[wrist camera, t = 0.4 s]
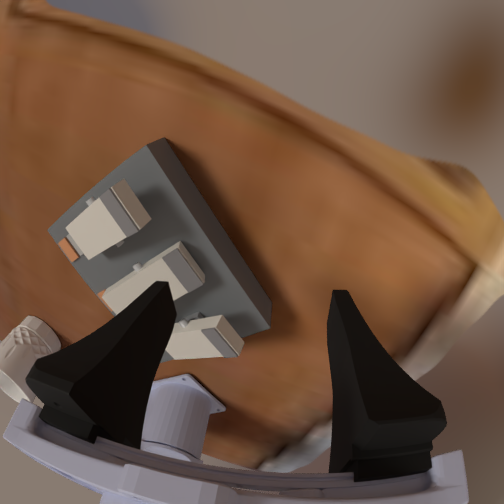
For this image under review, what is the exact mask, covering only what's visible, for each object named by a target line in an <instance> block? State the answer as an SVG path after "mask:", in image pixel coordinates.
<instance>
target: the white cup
mask: <svg viewBox="0 0 504 504" xmlns="http://www.w3.org/2000/svg"><path fill="white" fill-rule="evenodd" d="M60 349H61V343H60V341H59V338H58V337H57V335H56V334H55V333H54V331H53V330H52V329H51V328H50V327H49V326H48V325H47V324H46V323H45V322H44V321H42V320H41V319H39V318H37V317H35V316H27V317H26V318H25V319H24V320H23V321H22V322H21V323H20V324H19V325H18V326H17V327H16V328H14V329H13V330H12V332H11V333H10V334H8V336H7V337H6V338H5V339H4V340H3V341H2V342H1V343H0V389H1V390H3V391H4V392H5V393H6V394H7V395H8V396H10V397H11V398H12V399H14V400H15V401H17V402H18V403H20V401H21V399H22V398H24V399H26V400H28V401H29V402H31V403H33V401H34V399H35V397H36V395H35V394H34V393H33V392H32V391H31V389H30V388H29V387H28V385H27V384H26V380H25V378H26V376H27V375H28V373H29V371H30V370H31V368H32V366H33V365H34V363H35V361H36V360H37V359H38V358H41V357H44V356H47V355H49V354H52V353H55V352H57V351H59V350H60Z"/></svg>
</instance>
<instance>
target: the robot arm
mask: <svg viewBox="0 0 504 504" xmlns="http://www.w3.org/2000/svg"><path fill="white" fill-rule="evenodd" d="M176 316H177V312H176V308H175V305H174V301H173V297H172V293H171V290H170V286H169V282H167V281H155V282H154V283H153V284H152V285H151V286H150V287H148V288H147V289H146V290H145V291H144V292H143V293H142V294H141V295H139V296H138V297H137V298H136V299H135V300H134V301H133V302H132V303H130V304H129V305H128V306H127V307H126V308H125V309H124V310H122V311H121V312H120V313H119V314H117V315H116V316H115V317H114V318H112V319H111V320H110V321H109V322H107V323H106V324H105V325H103V326H102V327H100V328H99V329H97V330H96V331H94V332H93V333H91V334H90V335H88V336H86V337H85V338H83V339H81V340H79V341H78V342H76V343H74V344H72V345H70V346H68V347H66V348H64V349H62V350H59V351H57V352H55V353H52V354H49V355H47V356H44V357H41V358H38V359H37V360H36V361H35V363H34V365H33V366H32V368H31V370H30V371H29V373H28V375H27V376H26V378H25V380H26V384H27V385H28V387H29V388H30V389H31V391H32V392H33V393H34V394H35V395H36V396H37V397H38V398H39V399H40V400H41V401H42V402H43V403H44V404H45V405H44V407H43V409H42V408H40V407H39V406H37V405H35V404H33V403H31V402H29V401H28V400H26V399H24V398H22V399H21V401H20V403H19V405H18V407H17V409H16V410H15V412H14V414H13V416H12V418H11V420H10V422H9V424H8V426H7V428H6V431H5V432H4V435H3V438H4V439H6V440H7V441H8V442H9V443H11V444H12V445H13V446H15V447H16V448H18V449H19V450H20V451H22V452H23V453H25V454H26V455H27V456H29V457H30V458H32V459H33V460H35V461H37V462H38V463H40V464H42V465H44V466H45V467H47V468H49V469H51V470H53V471H54V472H56V473H58V474H60V475H62V476H64V477H66V478H68V479H70V480H71V481H74V482H75V483H78V484H80V485H82V486H84V487H86V488H88V489H90V490H92V491H95V492H97V493H99V494H102V497H101V500H100V504H467V503H468V502H469V495H468V487H467V479H466V471H465V465H464V459H463V453H462V450H461V449H459V450H455V451H451V452H447V453H443V454H439V455H436V456H433V457H430V451H431V450H432V449H433V445H432V440H433V439H434V438H435V437H437V436H438V435H439V434H440V433H441V432H442V431H443V430H444V428H445V427H446V424H447V421H446V416H445V412H444V409H443V406H442V404H441V401H440V400H439V399H437V398H436V397H434V396H433V395H432V394H431V393H429V392H428V391H426V390H425V389H424V388H422V387H421V386H420V385H419V384H418V383H417V382H415V381H414V380H413V379H412V378H411V377H410V376H409V375H408V374H407V373H406V372H405V371H404V370H403V369H402V368H401V367H400V366H399V365H398V364H397V363H396V362H395V361H394V360H393V359H392V358H391V356H390V355H389V354H388V353H387V352H386V350H385V349H384V348H383V347H382V345H381V344H380V343H379V341H378V340H377V338H376V337H375V336H374V334H373V333H372V331H371V330H370V328H369V327H368V325H367V323H366V322H365V320H364V319H363V317H362V315H361V314H360V312H359V310H358V309H357V307H356V305H355V303H354V301H353V299H352V297H351V296H350V293H349V292H348V291H347V290H333V292H332V298H331V304H330V310H329V315H328V321H327V345H328V354H329V362H330V370H331V379H332V389H333V418H332V440H331V454H330V465H329V473H323V474H322V473H318V474H305V473H302V474H301V473H276V472H261V471H249V470H240V469H232V468H225V467H218V466H211V465H205V464H203V461H202V460H200V457H201V453H202V448H203V443H204V439H205V434H206V429H207V425H208V420H209V415H210V414H212V413H218V412H223V411H225V410H226V407H225V406H224V405H223V404H222V403H220V402H219V401H218V400H217V399H216V398H215V397H214V396H213V395H212V394H210V393H209V392H208V391H207V390H206V389H205V388H204V387H203V386H202V385H201V384H200V383H199V382H198V381H197V380H195V379H194V378H193V377H192V376H191V375H190V374H184V375H180V376H175V377H171V378H167V379H162V380H158V381H153V380H154V377H155V374H156V371H157V369H158V366H159V364H160V362H161V359H162V357H163V354H164V352H165V349H166V347H167V345H168V342H169V340H170V337H171V335H172V332H173V328H174V324H175V320H176ZM231 487H234V488H231ZM235 488H243V489H253V490H264V491H280V493H279V495H277V494H268V493H261V492H254V491H247V490H241V489H235Z"/></svg>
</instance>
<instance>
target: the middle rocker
mask: <svg viewBox="0 0 504 504" xmlns="http://www.w3.org/2000/svg"><path fill="white" fill-rule="evenodd" d="M133 268H134V271H133V272H131V273H130V274H128V275H127V276H125V277H124V278H122V279H121V280H119V281H118V282H116V283H115V284H113V285H112V286H110V287H109V288H107V289H106V291H105V292H104V294H103V296H102V298H103V300H104V301H105V302H106V303H107V304H108V306H109V307H110V308H111V309H112V310H113V311H114V313H115V314H116V315H117V314H119V313H120V312H121V311H122V310H124V309H125V308H126V307H127V306H128V305H129V304H130V303H132V302H133V301H134V300H135V299H136V298H137V297H138V296H139V295H141V294H142V293H143V292H144V291H145V290H146V289H147V288H148V287H150V286H151V285H152V284H153V283H154V282H155V281H167V282H169V286H170V290H171V293H172V297H173V301H174V300H176V299H177V298H179V297H181V296H183V295H184V294H186V293H190V292H191V291H193V290H195V289H196V288H198V287H200V286H202V285H203V283H205V274H204V273H203V271H202V270H201V269H200V267H199V266H198V265H197V263H196V262H195V260H194V259H193V258H192V256H191V255H190V253H189V252H188V251H187V249H186V248H185V246H184V245H183V244H182V242H181V241H179V242H177V243H176V244H174V245H173V246H171V247H170V248H168V249H166V250H165V251H163V252H162V253H160V254H159V255H157V256H156V257H154V258H152V259H151V260H149V261H148V262H146V263H145V264H143V265H141V263H140V262H137V263H135V264H134V265H133Z"/></svg>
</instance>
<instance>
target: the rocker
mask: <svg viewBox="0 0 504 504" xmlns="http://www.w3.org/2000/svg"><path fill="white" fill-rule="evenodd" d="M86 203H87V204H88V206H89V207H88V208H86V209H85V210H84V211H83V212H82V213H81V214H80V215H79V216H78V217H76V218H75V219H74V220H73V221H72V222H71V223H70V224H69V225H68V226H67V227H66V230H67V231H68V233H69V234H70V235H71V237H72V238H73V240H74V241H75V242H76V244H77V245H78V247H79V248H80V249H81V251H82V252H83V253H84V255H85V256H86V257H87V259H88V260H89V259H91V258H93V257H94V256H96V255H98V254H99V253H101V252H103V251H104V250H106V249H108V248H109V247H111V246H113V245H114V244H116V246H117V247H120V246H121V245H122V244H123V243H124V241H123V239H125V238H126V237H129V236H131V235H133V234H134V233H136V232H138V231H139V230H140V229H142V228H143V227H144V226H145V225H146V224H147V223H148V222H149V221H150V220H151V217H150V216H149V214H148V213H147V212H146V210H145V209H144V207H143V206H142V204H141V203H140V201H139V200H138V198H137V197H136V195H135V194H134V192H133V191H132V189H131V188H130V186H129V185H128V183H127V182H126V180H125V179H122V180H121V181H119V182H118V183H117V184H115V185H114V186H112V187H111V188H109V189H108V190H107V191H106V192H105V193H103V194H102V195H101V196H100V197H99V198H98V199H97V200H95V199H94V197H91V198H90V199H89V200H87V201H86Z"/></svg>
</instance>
